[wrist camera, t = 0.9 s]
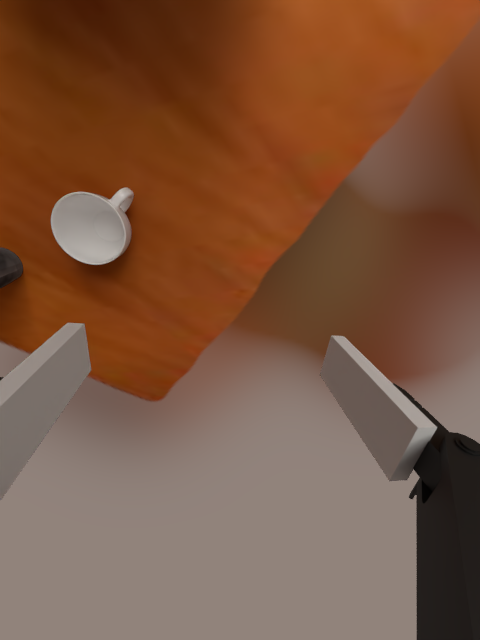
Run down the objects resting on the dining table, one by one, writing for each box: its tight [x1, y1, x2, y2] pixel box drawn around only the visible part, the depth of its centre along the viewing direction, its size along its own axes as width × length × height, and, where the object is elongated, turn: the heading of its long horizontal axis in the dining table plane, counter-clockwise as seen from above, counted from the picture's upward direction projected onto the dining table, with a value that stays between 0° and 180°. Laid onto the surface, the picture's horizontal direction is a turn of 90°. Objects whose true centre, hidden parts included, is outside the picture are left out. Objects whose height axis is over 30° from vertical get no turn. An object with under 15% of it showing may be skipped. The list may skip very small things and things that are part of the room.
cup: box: [51, 187, 134, 265], centre depth 31 cm, size 8×10×7 cm
